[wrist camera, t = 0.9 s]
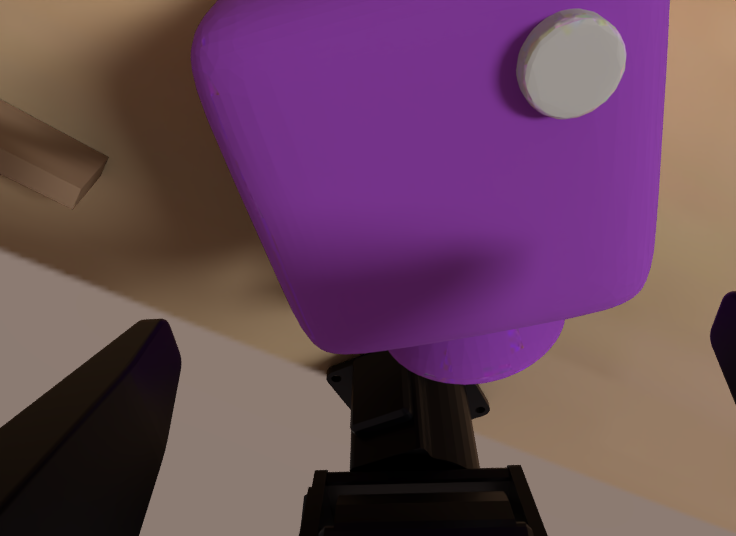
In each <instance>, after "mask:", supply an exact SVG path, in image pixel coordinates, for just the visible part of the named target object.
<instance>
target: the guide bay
mask: <svg viewBox="0 0 736 536" xmlns="http://www.w3.org/2000/svg"><path fill="white" fill-rule="evenodd" d="M107 160H108V157H107V156H105V155H103V154H101V153H100V152H98V151H96V150H94V149H92V148H90V147H88V146H86V145H85V144H83V143H81V142H79V141H77V140H75V139H73V138H71V137H70V136H68V135H66V134H64V133H62V132H60V131H58V130H56V129H55V128H53V127H51V126H49V125H47V124H45V123H43V122H41V121H40V120H38V119H36V118H34V117H32V116H30V115H28V114H26V113H25V112H23V111H21V110H19V109H17V108H15V107H13V106H11V105H10V104H8V103H6V102H4V101H2V100H0V174H1V175H3V176H5V177H7V178H9V179H11V180H13V181H15V182H17V183H19V184H21V185H23V186H25V187H27V188H29V189H31V190H34V191H36V192H38V193H40V194H42V195H44V196H46V197H48V198H50V199H52V200H54V201H56V202H58V203H60V204H62V205H64V206H66V207H68V208H70V209H72V210H73V208H74V207H75V206H76V205H77V204H78V202H79V201H80V200H81V199H82V198H83V196H84V195H85V194H86V193H87V192H88V190H89V189H90V188H91V187H92V186H93V184H94V183H95V182H96V181H97V180H98V178H99V177H100V176H101V173H102V171H103V169H104V166H105V164H106V162H107Z"/></svg>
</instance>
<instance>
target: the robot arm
mask: <svg viewBox="0 0 736 536" xmlns="http://www.w3.org/2000/svg"><path fill="white" fill-rule="evenodd" d="M710 340H711V345H712V348H713V350H714V352H715V355H716V357H717V360H718V362H719V365H720V367H721V370H722V372H723V375H724V377H725V380H726V382H727V384H728V387H729V389H730V392H731V394H732V397H733V399H734V402H735V404H736V291H731V292H729V293H727V294H726V295H725V296H724V297H723V299H722V302H721V304H720V307H719V310H718V312H717V315H716V317H715V320H714V323H713V325H712V328H711V332H710ZM180 371H181V356H180V352H179V350H178V347H177V344H176V341H175V338H174V336H173V333H172V330H171V327H170V325H169V323H168V322H167V321H166V320H164V319H146V320H141V321H139V322H137V323H136V324H134V325H133V326H132V327H131V328H129V329H128V330H127V331H125V332H124V333H123V334H121V335H120V336H119V337H118V338H116V339H115V340H114V341H112V342H111V343H110V344H109V345H107V346H106V347H105V348H104V349H102V350H101V351H100V352H98V353H97V354H96V355H94V356H93V357H92V358H90V359H89V360H88V361H87V362H85V363H84V364H83V365H81V366H80V367H79V368H78V369H76V370H75V371H73V372H72V373H71V374H70V375H68V376H67V377H66V378H64V379H63V380H62V381H61V382H59V383H58V384H57V385H55V386H54V387H53V388H51V389H50V390H49V391H48V392H46V393H45V394H44V395H42V396H41V397H40V398H38V399H37V400H36V401H35V402H33V403H32V404H31V405H29V406H28V407H27V408H25V409H24V410H23V411H22V412H20V413H19V414H18V415H16V416H15V417H14V418H13V419H11V420H10V421H9V422H8V423H6V424H5V425H3V426H2V427H1V428H0V536H139V534H140V530H141V527H142V524H143V521H144V517H145V514H146V511H147V508H148V505H149V501H150V498H151V495H152V492H153V489H154V485H155V482H156V479H157V476H158V473H159V470H160V466H161V463H162V460H163V456H164V453H165V448H166V444H167V439H168V435H169V429H170V424H171V419H172V413H173V408H174V403H175V398H176V391H177V387H178V382H179V376H180ZM335 375H338V376H335ZM327 381H328V383H329V384H330V385H331V386H332V387H333V389H334V390H335V391H336V393H337V394H338V395H339V396H340V397H341V399H342V400H343V401H344V402H345V403H346V405H347V406H348V407H349V408H350V409H351V422H350V428H351V453H350V472H328V470H316V471H315V473H314V478H313V484H312V487H309V489H308V493H307V495H305V496H304V503H303V512H302V520H301V528H300V533H299V536H547V533H546V530H545V528H544V525H543V522H542V520H541V517H540V515H539V512H538V509H537V507H536V504H535V502H534V499H533V496H532V494H531V491H530V488H529V486H528V483H527V481H526V478H525V475H524V472H523V470H522V467H521V465H508V466H507V468H480V466H479V460H478V454H477V449H476V443H475V437H474V431H473V426H472V420H471V419H474V418H477V417H481V416H484V415H486V414H487V413H488V412H489V411H490V408H489V403H488V400H487V399H486V397H485V395H484V393H483V392H482V390H481V388H480V387H479V385H478V384H466V385H463V384H450V383H443V382H438V381H434V380H431V379H427V378H425V377H422V376H419V375H417V374H415V373H413V372H411V371H410V370H408V369H407V368H405V367H404V366H403V365H401V364H400V363H399V362H398V361H397V360H396V359H395V358H394V357H393V356H392V355H391V354H390V352H389V351H388V350H387V351H379V352H371V353H368V354H365V355H362V356H360V357H357V358H354V359H351V360H349V361H346V362H343V363H341V364H338V365H335V366H332V367H330V368H329V369H328V370H327Z"/></svg>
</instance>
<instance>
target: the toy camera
mask: <svg viewBox="0 0 736 536" xmlns="http://www.w3.org/2000/svg"><path fill="white" fill-rule="evenodd" d="M669 5H670V0H218V1H217V2H216V3H215V4H214V5H213V6H212V7H211V9H210V10H209V11H208V12H207V13H206V14H205V16H204V17H203V19H202V21H201V22H200V24H199V26H198V28H197V30H196V32H195V35H194V39H193V43H192V48H191V65H192V72H193V76H194V81H195V85H196V89H197V92H198V95H199V97H200V100H201V103H202V106H203V109H204V111H205V114H206V117H207V119H208V122H209V124H210V126H211V129H212V131H213V133H214V136H215V138H216V140H217V143H218V145H219V147H220V150H221V152H222V154H223V157H224V159H225V161H226V164H227V166H228V168H229V171H230V173H231V175H232V178H233V180H234V182H235V184H236V187H237V189H238V191H239V193H240V196H241V198H242V200H243V202H244V205H245V207H246V209H247V211H248V213H249V216H250V218H251V220H252V222H253V225H254V227H255V229H256V231H257V234H258V236H259V238H260V240H261V243H262V245H263V247H264V249H265V252H266V254H267V256H268V258H269V260H270V263H271V265H272V267H273V269H274V272H275V274H276V276H277V278H278V281H279V283H280V285H281V287H282V289H283V292H284V294H285V296H286V298H287V300H288V302H289V305H290V307H291V309H292V311H293V313H294V315H295V317H296V319H297V320H298V322H299V324H300V326H301V328H302V329H303V330H304V332H305V333H306V334H307V336H308V337H309V338H310V340H311V341H312V342H313V343H314V344H315V345H316V346H318V347H319V348H320V349H322V350H324V351H326V352H330V353H334V354H360V353H371V352H379V351H387V350H388V351H389V352H390V354H391V355H392V356H393V357H394V358H395V359H396V360H397V361H398V362H399V363H400V364H401V365H403V366H404V367H405V368H407V369H408V370H410V371H411V372H413V373H415V374H417V375H419V376H422V377H425V378H427V379H431V380H434V381H438V382H443V383H450V384H463V385H466V384H480V383H487V382H491V381H495V380H499V379H503V378H506V377H508V376H511V375H513V374H515V373H518V372H520V371H522V370H523V369H525V368H527V367H529V366H530V365H532V364H533V363H534V362H536V361H537V360H539V359H540V358H541V357H542V356H543V355H544V354H545V353H546V352H547V351H548V350H549V349H550V348H551V347H552V346H553V344H554V343H555V342H556V340H557V338H558V337H559V335H560V333H561V331H562V328H563V325H564V321H565V319H569V318H573V317H577V316H582V315H586V314H590V313H594V312H598V311H603V310H606V309H609V308H612V307H615V306H617V305H620V304H622V303H624V302H626V301H628V300H630V299H632V298H633V297H634V296H635V295H636V294H638V293H639V291H640V290H641V289H642V288H643V286H644V284H645V282H646V280H647V277H648V274H649V271H650V268H651V263H652V258H653V253H654V243H655V233H656V220H657V207H658V194H659V178H660V162H661V146H662V130H663V114H664V98H665V82H666V65H667V47H668V26H669Z"/></svg>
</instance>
